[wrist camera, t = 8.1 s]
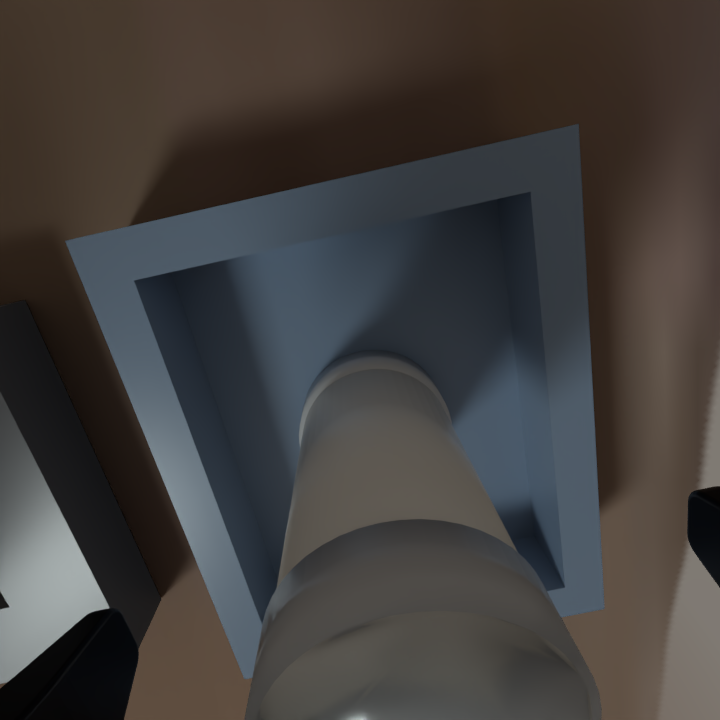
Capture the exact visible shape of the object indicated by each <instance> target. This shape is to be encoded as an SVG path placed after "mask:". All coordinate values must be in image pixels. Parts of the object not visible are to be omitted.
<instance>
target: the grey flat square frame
mask: <svg viewBox="0 0 720 720" xmlns="http://www.w3.org/2000/svg"><path fill="white" fill-rule="evenodd" d="M160 601H161V598H160V595H159V593H158V591H157V589H156V587H155V584H154V582H153V580H152V578H151V576H150V573H149V571H148V569H147V567H146V565H145V563H144V560H143V558H142V556H141V554H140V552H139V549H138V547H137V545H136V543H135V541H134V538H133V536H132V534H131V532H130V530H129V527H128V525H127V523H126V521H125V519H124V516H123V514H122V512H121V510H120V508H119V505H118V503H117V501H116V499H115V497H114V494H113V492H112V490H111V488H110V486H109V483H108V481H107V479H106V477H105V475H104V472H103V470H102V468H101V466H100V464H99V462H98V459H97V457H96V455H95V453H94V451H93V448H92V446H91V444H90V442H89V440H88V437H87V435H86V433H85V431H84V429H83V426H82V424H81V422H80V420H79V418H78V415H77V413H76V411H75V409H74V407H73V404H72V402H71V400H70V398H69V396H68V393H67V391H66V389H65V387H64V385H63V382H62V380H61V378H60V376H59V374H58V371H57V369H56V367H55V365H54V363H53V361H52V358H51V356H50V354H49V352H48V350H47V347H46V345H45V343H44V341H43V339H42V336H41V334H40V332H39V330H38V328H37V325H36V323H35V321H34V319H33V317H32V314H31V312H30V310H29V308H28V306H27V303H26V301H25V300H22V301H18V302H13V303H9V304H5V305H0V684H1V683H6V682H9V681H10V680H11V679H12V678H13V677H15V676H16V675H17V674H18V673H19V672H20V671H22V670H23V669H24V668H25V667H26V666H27V665H29V664H30V663H31V662H32V661H33V660H34V659H36V658H37V657H38V656H39V655H40V654H41V653H43V652H44V651H45V650H46V649H47V648H48V647H50V646H51V645H52V644H53V643H54V642H55V641H57V640H58V639H59V638H60V637H61V636H62V635H64V634H65V633H66V632H67V631H68V630H69V629H71V628H72V627H73V626H74V625H75V624H76V623H78V622H79V621H80V620H81V619H82V618H83V617H85V616H86V615H87V614H89V613H91V612H94V611H98V610H103V609H108V608H117V609H118V610H120V611H121V612H122V614H123V616H124V618H125V620H126V622H127V624H128V626H129V628H130V630H131V632H132V634H133V636H134V638H135V640H136V642H137V645H138V649H139V646H140V644H141V642H142V640H143V638H144V636H145V633H146V631H147V629H148V627H149V625H150V623H151V620H152V618H153V616H154V614H155V612H156V610H157V607H158V605H159V603H160Z"/></svg>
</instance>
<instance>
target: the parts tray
mask: <svg viewBox="0 0 720 720" xmlns="http://www.w3.org/2000/svg"><path fill="white" fill-rule="evenodd" d="M65 242H66V244H67V247H68V249H69V252H70V254H71V256H72V259H73V261H74V264H75V266H76V269H77V271H78V274H79V276H80V278H81V281H82V283H83V286H84V288H85V291H86V293H87V296H88V298H89V300H90V303H91V305H92V308H93V310H94V313H95V315H96V318H97V320H98V322H99V325H100V327H101V330H102V332H103V335H104V337H105V340H106V342H107V344H108V347H109V349H110V352H111V354H112V357H113V359H114V362H115V364H116V366H117V369H118V371H119V374H120V376H121V379H122V381H123V383H124V386H125V388H126V391H127V393H128V396H129V398H130V401H131V403H132V405H133V408H134V410H135V413H136V415H137V418H138V420H139V423H140V425H141V427H142V430H143V432H144V435H145V437H146V440H147V442H148V445H149V447H150V449H151V452H152V454H153V457H154V459H155V462H156V464H157V467H158V469H159V471H160V474H161V476H162V479H163V481H164V484H165V486H166V489H167V491H168V493H169V496H170V498H171V501H172V503H173V506H174V508H175V510H176V513H177V515H178V518H179V520H180V523H181V525H182V528H183V530H184V532H185V535H186V537H187V540H188V542H189V545H190V547H191V550H192V552H193V554H194V557H195V559H196V562H197V564H198V567H199V569H200V572H201V574H202V576H203V579H204V581H205V584H206V586H207V589H208V591H209V594H210V596H211V598H212V601H213V603H214V606H215V608H216V611H217V613H218V616H219V618H220V620H221V623H222V625H223V628H224V630H225V633H226V635H227V637H228V640H229V642H230V645H231V647H232V650H233V652H234V655H235V657H236V659H237V662H238V664H239V667H240V669H241V672H242V674H243V677H244V679H249V678H252V677H253V672H254V666H255V661H256V656H257V651H258V645H259V640H260V635H261V629H262V624H263V620H264V616H265V612H266V609H267V607H268V604H269V602H270V600H271V597H272V595H273V594H274V592H275V591H276V588H277V582H278V577H279V571H280V565H281V559H282V553H283V547H284V541H285V535H286V529H287V523H288V517H289V511H290V506H291V500H292V494H293V488H294V482H295V476H296V470H297V464H298V458H299V452H300V444H299V429H300V422H301V417H302V411H303V406H304V402H305V398H306V395H307V392H308V390H309V388H310V386H311V384H312V383H313V381H314V380H315V378H316V377H317V376H318V375H319V374H320V373H321V372H322V371H323V370H324V369H325V368H326V367H327V366H328V365H330V364H331V363H332V362H334V361H336V360H337V359H339V358H341V357H343V356H346V355H348V354H351V353H355V352H358V351H365V350H384V351H390V352H394V353H398V354H400V355H403V356H405V357H407V358H409V359H411V360H413V361H414V362H416V363H417V364H418V365H420V366H421V367H422V368H423V369H424V370H425V371H426V372H427V373H428V374H429V376H430V377H431V378H432V380H433V381H434V383H435V385H436V387H437V388H438V390H439V392H440V394H441V396H442V398H443V400H444V401H445V403H446V406H447V408H448V410H449V413H450V417H451V421H452V426H453V428H454V430H455V432H456V434H457V436H458V438H459V439H460V441H461V443H462V445H463V447H464V449H465V451H466V453H467V455H468V457H469V459H470V461H471V463H472V465H473V467H474V469H475V470H476V472H477V474H478V476H479V478H480V480H481V482H482V484H483V486H484V488H485V490H486V492H487V494H488V496H489V498H490V500H491V501H492V503H493V505H494V507H495V509H496V511H497V513H498V515H499V517H500V519H501V521H502V523H503V525H504V527H505V529H506V531H507V532H508V534H509V536H510V538H511V540H512V542H513V544H514V546H515V548H516V550H517V552H518V553H519V554H520V555H521V556H522V557H524V558H525V559H526V561H527V562H528V563H529V564H530V565H531V566H532V568H533V569H534V570H535V571H536V573H537V575H538V576H539V578H540V580H541V581H542V583H543V585H544V587H545V589H546V590H547V592H548V594H549V596H550V598H551V600H552V602H553V603H554V605H555V607H556V609H557V611H558V613H559V614H560V616H561V617H566V616H571V615H576V614H581V613H586V612H591V611H596V610H601V609H604V591H603V572H602V553H601V535H600V516H599V497H598V478H597V459H596V441H595V422H594V403H593V384H592V365H591V347H590V328H589V309H588V290H587V271H586V253H585V234H584V215H583V196H582V177H581V159H580V140H579V124H576V125H571V126H567V127H563V128H558V129H554V130H549V131H545V132H541V133H536V134H532V135H528V136H523V137H519V138H514V139H510V140H506V141H501V142H497V143H492V144H488V145H484V146H479V147H475V148H470V149H466V150H462V151H457V152H453V153H449V154H444V155H440V156H435V157H431V158H427V159H422V160H418V161H413V162H409V163H405V164H400V165H396V166H392V167H387V168H383V169H378V170H374V171H370V172H365V173H361V174H356V175H352V176H348V177H343V178H339V179H334V180H330V181H326V182H321V183H317V184H313V185H308V186H304V187H299V188H295V189H291V190H286V191H282V192H277V193H273V194H269V195H264V196H260V197H255V198H251V199H247V200H242V201H238V202H234V203H229V204H225V205H220V206H216V207H212V208H207V209H203V210H198V211H194V212H190V213H185V214H181V215H176V216H172V217H168V218H163V219H159V220H155V221H150V222H146V223H141V224H137V225H133V226H128V227H124V228H119V229H115V230H111V231H106V232H102V233H97V234H93V235H89V236H84V237H80V238H76V239H71V240H67V241H65Z"/></svg>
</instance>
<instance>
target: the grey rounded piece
mask: <svg viewBox="0 0 720 720" xmlns="http://www.w3.org/2000/svg"><path fill="white" fill-rule="evenodd" d="M299 444H300V452H299V458H298V464H297V470H296V476H295V482H294V488H293V494H292V500H291V506H290V511H289V517H288V523H287V529H286V535H285V541H284V547H283V553H282V559H281V565H280V571H279V577H278V582H277V588H276V591H275V592H274V594H273V595H272V597H271V600H270V602H269V604H268V607H267V609H266V612H265V616H264V620H263V624H262V629H261V635H260V640H259V645H258V651H257V656H256V661H255V666H254V672H253V677H252V682H251V688H250V693H249V698H248V704H247V709H246V714H245V720H601V710H602V709H601V702H600V696H599V691H598V689H597V686H596V683H595V680H594V678H593V676H592V674H591V672H590V670H589V668H588V666H587V664H586V663H585V661H584V659H583V657H582V655H581V653H580V652H579V650H578V648H577V646H576V644H575V642H574V640H573V639H572V637H571V635H570V633H569V631H568V629H567V627H566V626H565V624H564V622H563V620H562V618H561V616H560V614H559V613H558V611H557V609H556V607H555V605H554V603H553V602H552V600H551V598H550V596H549V594H548V592H547V590H546V589H545V587H544V585H543V583H542V581H541V580H540V578H539V576H538V575H537V573H536V571H535V570H534V569H533V568H532V566H531V565H530V564H529V563H528V562H527V561H526V559H525V558H524V557H522V556H521V555H520V554H519V553H518V552H517V550H516V548H515V546H514V544H513V542H512V540H511V538H510V536H509V534H508V532H507V531H506V529H505V527H504V525H503V523H502V521H501V519H500V517H499V515H498V513H497V511H496V509H495V507H494V505H493V503H492V501H491V500H490V498H489V496H488V494H487V492H486V490H485V488H484V486H483V484H482V482H481V480H480V478H479V476H478V474H477V472H476V470H475V469H474V467H473V465H472V463H471V461H470V459H469V457H468V455H467V453H466V451H465V449H464V447H463V445H462V443H461V441H460V439H459V438H458V436H457V434H456V432H455V430H454V428H453V426H452V421H451V417H450V413H449V410H448V408H447V406H446V403H445V401H444V400H443V398H442V396H441V394H440V392H439V390H438V388H437V387H436V385H435V383H434V381H433V380H432V378H431V377H430V376H429V374H428V373H427V372H426V371H425V370H424V369H423V368H422V367H421V366H420V365H418V364H417V363H416V362H414V361H413V360H411V359H409V358H407V357H405V356H403V355H400V354H398V353H394V352H390V351H384V350H365V351H358V352H355V353H351V354H348V355H346V356H343V357H341V358H339V359H337V360H336V361H334V362H332V363H331V364H330V365H328V366H327V367H326V368H325V369H324V370H323V371H322V372H321V373H320V374H319V375H318V376H317V377H316V378H315V380H314V381H313V383H312V384H311V386H310V388H309V390H308V392H307V395H306V398H305V402H304V406H303V411H302V417H301V422H300V429H299Z"/></svg>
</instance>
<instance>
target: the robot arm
mask: <svg viewBox="0 0 720 720" xmlns="http://www.w3.org/2000/svg"><path fill="white" fill-rule="evenodd" d="M687 534H688V540H689V543H690V545H691V547H692V549H693V551H694V552H695V554H696V555H697V557H698V558H699V560H700V561H701V562H702V564H703V565H704V566H705V568H706V569H707V570H708V572H709V573H710V575H711V576H712V577H713V579H714V580H715V582H716V583H717V584H718V586H719V587H720V486H717V487H711V488H705V489H700V490H696V491H693V492H692V493H691V494H690V496H689V498H688V529H687ZM138 656H139V652H138V645H137V642H136V640H135V638H134V636H133V634H132V632H131V630H130V628H129V626H128V624H127V622H126V620H125V618H124V616H123V614H122V612H121V611H120V610H118V609H117V608H108V609H103V610H98V611H94V612H91V613H89V614H87V615H86V616H85V617H83V618H82V619H81V620H80V621H79V622H78V623H76V624H75V625H74V626H73V627H72V628H71V629H69V630H68V631H67V632H66V633H65V634H64V635H62V636H61V637H60V638H59V639H58V640H57V641H55V642H54V643H53V644H52V645H51V646H50V647H48V648H47V649H46V650H45V651H44V652H43V653H41V654H40V655H39V656H38V657H37V658H36V659H34V660H33V661H32V662H31V663H30V664H29V665H27V666H26V667H25V668H24V669H23V670H22V671H20V672H19V673H18V674H17V675H16V676H15V677H13V678H12V679H11V680H10V681H9V682H8V683H6V684H5V685H4V686H3V687H2V688H1V689H0V720H124V717H125V713H126V709H127V704H128V700H129V696H130V692H131V688H132V684H133V680H134V676H135V672H136V668H137V663H138Z"/></svg>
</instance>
